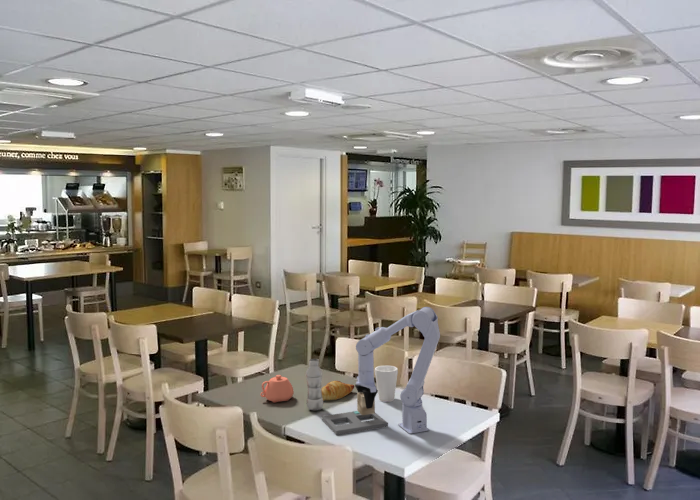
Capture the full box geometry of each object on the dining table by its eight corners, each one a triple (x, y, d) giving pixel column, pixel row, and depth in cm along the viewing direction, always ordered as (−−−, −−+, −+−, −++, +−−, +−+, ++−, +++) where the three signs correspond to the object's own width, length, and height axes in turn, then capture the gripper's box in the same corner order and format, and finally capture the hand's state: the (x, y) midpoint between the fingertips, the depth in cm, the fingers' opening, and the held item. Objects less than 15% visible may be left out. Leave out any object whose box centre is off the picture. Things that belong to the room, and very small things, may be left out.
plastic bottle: (321, 412, 237) (320, 362, 235) (304, 411, 238) (303, 361, 236) (325, 407, 243) (324, 358, 241) (309, 406, 244) (307, 357, 243)
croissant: (316, 411, 248) (321, 397, 244) (304, 395, 255) (308, 381, 251) (357, 399, 261) (362, 385, 257) (344, 384, 267) (349, 370, 264)
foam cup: (398, 395, 256) (397, 365, 254) (397, 403, 246) (397, 371, 245) (375, 395, 256) (375, 365, 255) (374, 402, 247) (374, 371, 246)
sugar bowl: (297, 401, 250) (296, 377, 250) (264, 406, 245) (263, 381, 244) (289, 393, 262) (288, 369, 261) (257, 397, 257) (256, 373, 256)
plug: (374, 413, 225) (374, 395, 224) (362, 415, 223) (362, 396, 223) (369, 409, 230) (369, 391, 229) (357, 410, 228) (357, 392, 227)
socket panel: (387, 426, 221) (387, 422, 221) (336, 435, 214) (336, 430, 214) (370, 412, 236) (370, 408, 236) (322, 419, 229) (321, 415, 229)
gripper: (349, 366, 230) (349, 401, 232) (363, 376, 217) (363, 413, 218) (366, 364, 233) (366, 398, 234) (381, 374, 219) (381, 410, 221)
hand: (366, 405), depth 226 cm, fingers closed on plug, 5 cm apart
